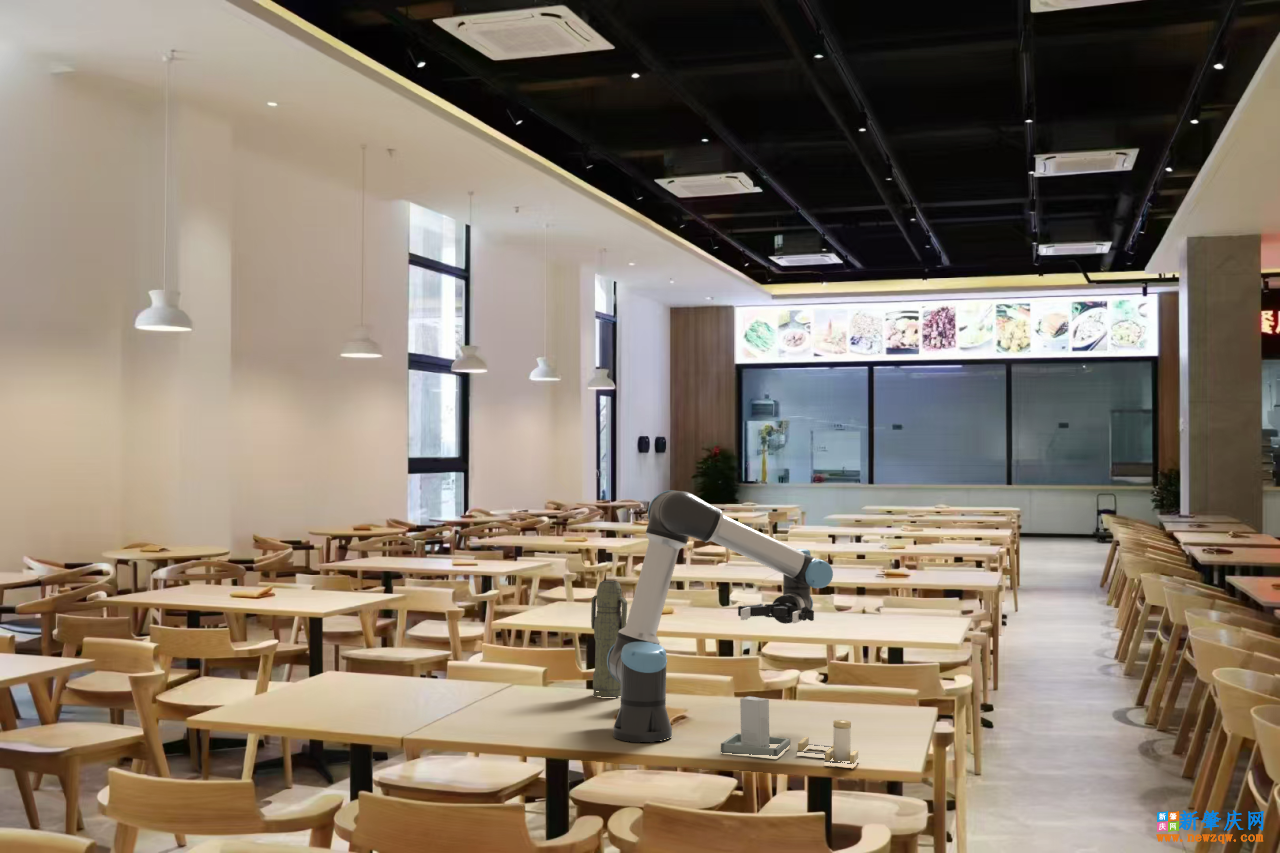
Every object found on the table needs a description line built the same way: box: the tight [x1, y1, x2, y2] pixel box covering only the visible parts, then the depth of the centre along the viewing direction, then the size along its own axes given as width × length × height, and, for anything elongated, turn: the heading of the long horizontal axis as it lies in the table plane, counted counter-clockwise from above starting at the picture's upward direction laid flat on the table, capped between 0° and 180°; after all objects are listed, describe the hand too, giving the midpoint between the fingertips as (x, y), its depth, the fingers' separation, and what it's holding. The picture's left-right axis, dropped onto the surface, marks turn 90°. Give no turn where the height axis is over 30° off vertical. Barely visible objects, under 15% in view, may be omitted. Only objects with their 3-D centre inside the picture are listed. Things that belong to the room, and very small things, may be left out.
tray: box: [720, 733, 791, 756], centre depth 283 cm, size 14×13×2 cm
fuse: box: [832, 719, 852, 762], centre depth 271 cm, size 4×4×10 cm
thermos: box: [590, 580, 628, 697], centre depth 353 cm, size 9×12×35 cm
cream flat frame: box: [796, 736, 859, 764], centre depth 277 cm, size 15×16×3 cm
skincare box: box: [739, 695, 770, 748], centre depth 283 cm, size 6×4×12 cm
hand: (767, 616), depth 294 cm, fingers open, 13 cm apart
